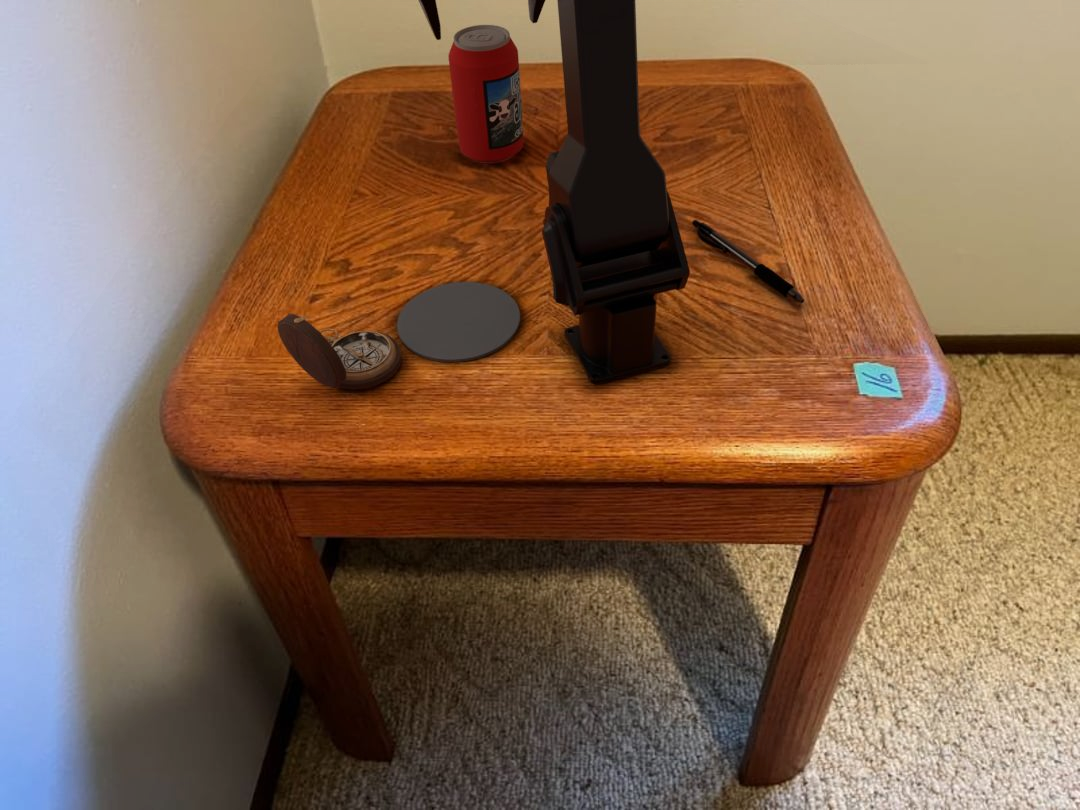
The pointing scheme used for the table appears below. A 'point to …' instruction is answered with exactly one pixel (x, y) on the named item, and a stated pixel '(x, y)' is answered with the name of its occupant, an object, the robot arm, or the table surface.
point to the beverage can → (486, 93)
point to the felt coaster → (458, 321)
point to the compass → (340, 354)
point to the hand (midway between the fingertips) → (486, 29)
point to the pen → (746, 261)
